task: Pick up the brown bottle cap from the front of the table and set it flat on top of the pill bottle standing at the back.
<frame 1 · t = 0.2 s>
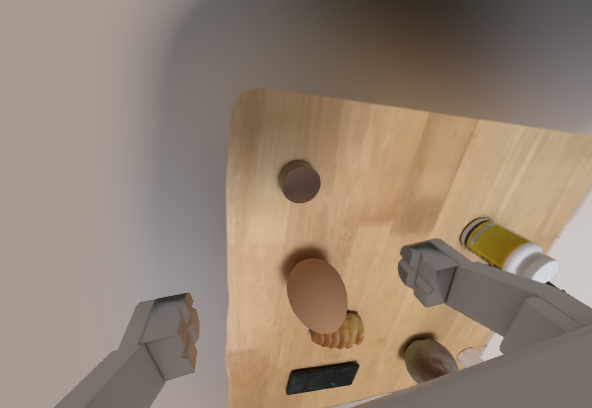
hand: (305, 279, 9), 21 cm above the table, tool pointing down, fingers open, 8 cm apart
brown bottle cap: (296, 178, 30), on the table
pill bottle: (473, 231, 43), on the table
egg: (305, 265, 37), on the table
pastry: (336, 324, 45), on the table
fruit: (415, 344, 56), on the table
smartphone: (322, 374, 51), on the table
pepper shaker: (464, 353, 64), on the table
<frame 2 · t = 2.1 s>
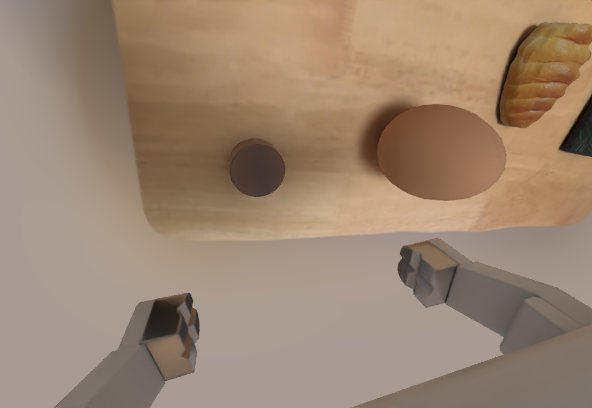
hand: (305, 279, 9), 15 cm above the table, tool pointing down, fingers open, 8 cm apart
brown bottle cap: (255, 163, 22), on the table
egg: (391, 140, 25), on the table
pastry: (526, 73, 26), on the table
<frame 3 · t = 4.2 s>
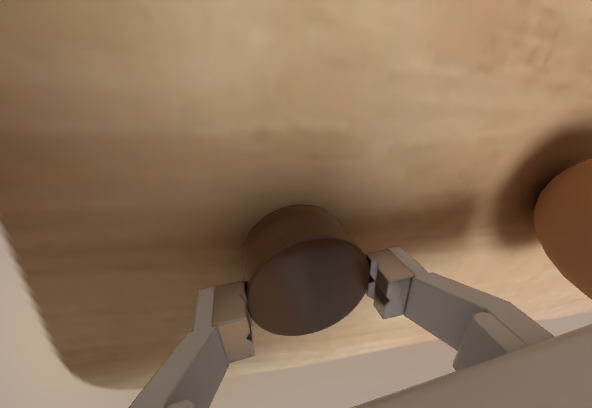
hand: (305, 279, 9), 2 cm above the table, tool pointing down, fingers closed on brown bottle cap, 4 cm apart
brown bottle cap: (295, 251, 11), on the table, touching gripper
egg: (545, 190, 13), on the table
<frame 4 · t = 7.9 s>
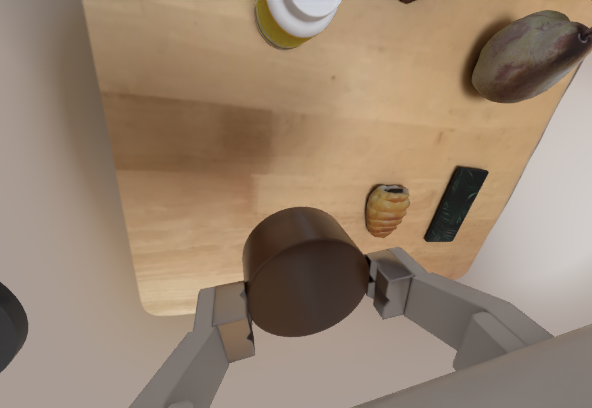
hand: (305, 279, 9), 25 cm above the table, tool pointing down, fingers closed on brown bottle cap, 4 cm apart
brown bottle cap: (295, 252, 11), point 23 cm above the table, touching gripper
pill bottle: (282, 17, 26), on the table
pastry: (381, 205, 41), on the table
fruit: (487, 65, 35), on the table
smartphone: (451, 205, 45), on the table
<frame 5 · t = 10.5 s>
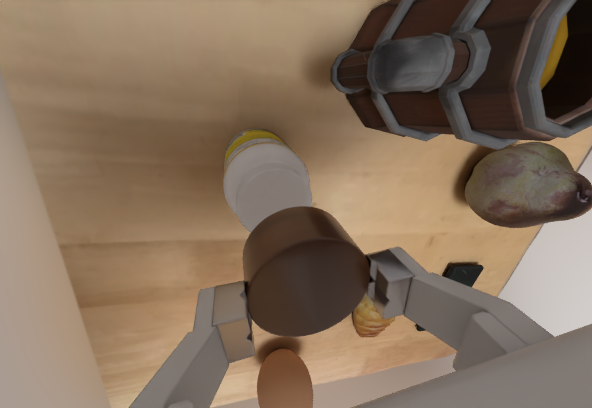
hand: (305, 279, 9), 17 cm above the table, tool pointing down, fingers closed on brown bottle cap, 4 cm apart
brown bottle cap: (295, 252, 11), point 16 cm above the table, touching gripper
pill bottle: (256, 158, 24), on the table
egg: (278, 351, 38), on the table
pastry: (369, 303, 39), on the table
fruit: (481, 174, 33), on the table
smartphone: (444, 296, 43), on the table
mug: (379, 73, 24), on the table
when the fingers open (13 cm above the table, at t = 12.1 s): brown bottle cap stays where it is, resting on pill bottle.
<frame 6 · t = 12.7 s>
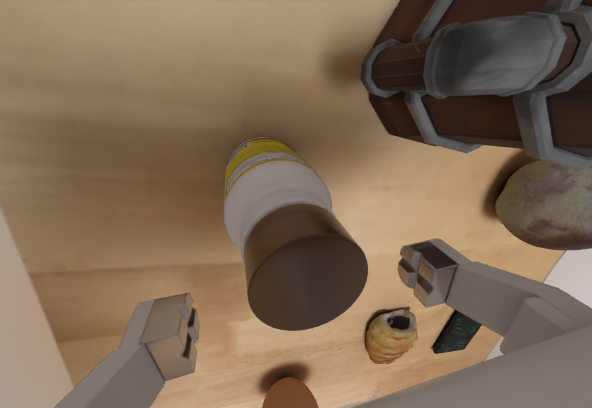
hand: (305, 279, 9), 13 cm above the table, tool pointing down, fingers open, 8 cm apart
brown bottle cap: (295, 249, 11), point 11 cm above the table, touching pill bottle
pill bottle: (262, 171, 21), on the table, touching brown bottle cap
egg: (283, 378, 35), on the table
pastry: (384, 326, 35), on the table
fruit: (514, 186, 29), on the table
smartphone: (464, 316, 39), on the table
mug: (408, 71, 20), on the table
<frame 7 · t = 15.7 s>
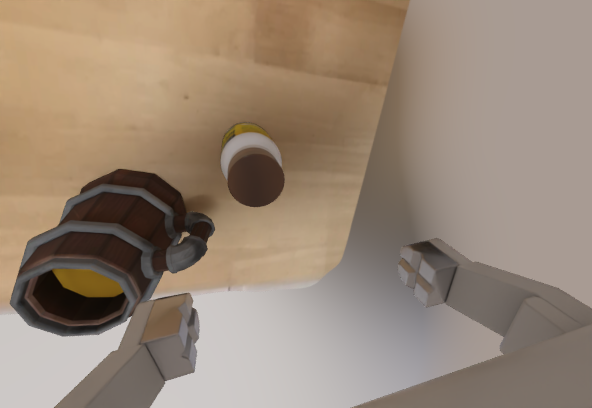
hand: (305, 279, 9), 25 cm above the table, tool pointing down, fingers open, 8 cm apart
brown bottle cap: (254, 172, 22), point 11 cm above the table, touching pill bottle
pill bottle: (246, 145, 31), on the table, touching brown bottle cap
mug: (155, 209, 32), on the table
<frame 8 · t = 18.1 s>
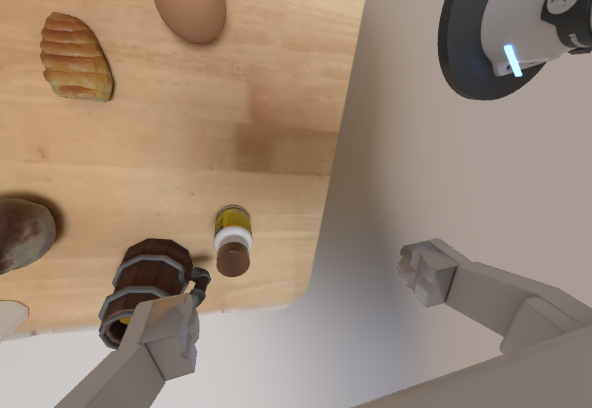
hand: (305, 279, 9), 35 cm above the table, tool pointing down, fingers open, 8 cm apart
brown bottle cap: (233, 254, 36), point 11 cm above the table, touching pill bottle
pill bottle: (232, 218, 46), on the table, touching brown bottle cap
egg: (197, 15, 32), on the table
pastry: (82, 67, 32), on the table
fruit: (31, 218, 38), on the table
mug: (171, 261, 47), on the table
pepper shaker: (11, 310, 43), on the table
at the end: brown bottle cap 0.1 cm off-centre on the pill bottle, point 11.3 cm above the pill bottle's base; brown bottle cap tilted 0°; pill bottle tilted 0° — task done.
